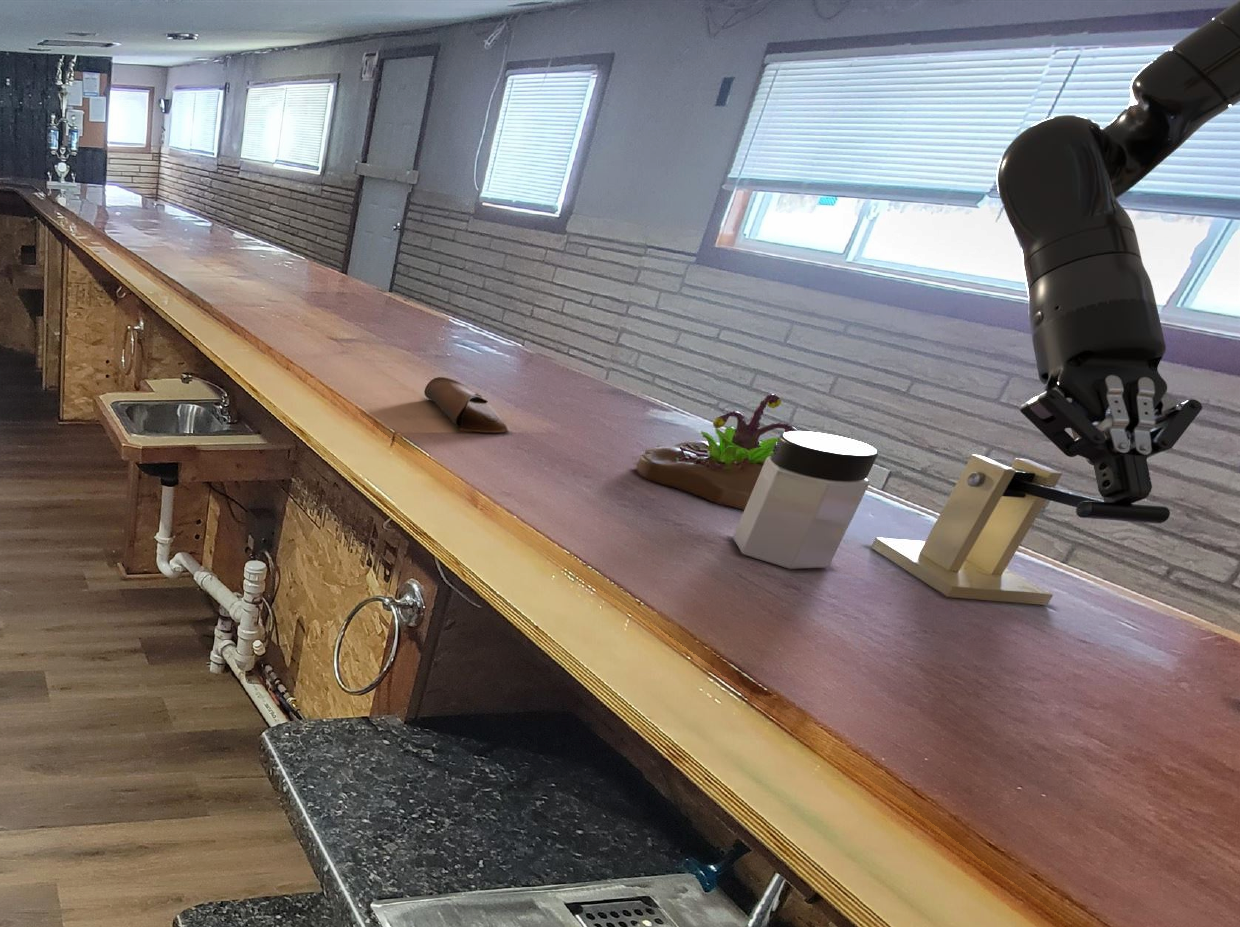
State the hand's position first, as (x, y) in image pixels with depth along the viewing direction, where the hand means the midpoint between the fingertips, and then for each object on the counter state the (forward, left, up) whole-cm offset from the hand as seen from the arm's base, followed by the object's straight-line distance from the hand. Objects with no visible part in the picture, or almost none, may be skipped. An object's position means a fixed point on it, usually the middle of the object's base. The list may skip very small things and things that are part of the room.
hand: (1127, 500), depth 75 cm
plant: (+10, -37, -13) cm, 40 cm away
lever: (0, -6, -3) cm, 7 cm away
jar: (+16, -14, -13) cm, 25 cm away
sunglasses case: (+38, -61, -13) cm, 73 cm away
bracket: (0, -12, -12) cm, 17 cm away
